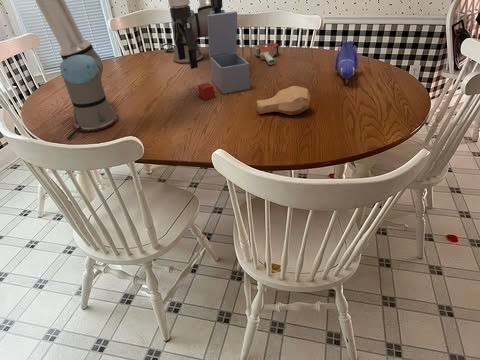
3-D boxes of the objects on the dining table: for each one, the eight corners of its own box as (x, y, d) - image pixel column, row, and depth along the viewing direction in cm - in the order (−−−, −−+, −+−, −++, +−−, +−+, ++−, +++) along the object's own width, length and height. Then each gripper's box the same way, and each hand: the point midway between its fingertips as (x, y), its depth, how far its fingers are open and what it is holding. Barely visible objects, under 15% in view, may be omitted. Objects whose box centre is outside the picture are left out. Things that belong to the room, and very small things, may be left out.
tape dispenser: (271, 69, 174) (289, 54, 187) (272, 58, 171) (290, 44, 183) (241, 62, 182) (260, 49, 194) (241, 52, 178) (260, 39, 191)
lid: (237, 12, 145) (230, 3, 150) (208, 16, 142) (202, 6, 147) (236, 51, 158) (230, 42, 163) (209, 56, 155) (204, 46, 160)
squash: (314, 116, 128) (313, 95, 122) (259, 125, 130) (256, 105, 124) (308, 99, 136) (307, 78, 129) (257, 108, 138) (253, 88, 131)
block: (214, 96, 147) (213, 85, 144) (204, 100, 145) (203, 88, 142) (209, 93, 150) (207, 82, 148) (199, 96, 148) (197, 85, 146)
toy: (333, 77, 168) (334, 87, 145) (335, 39, 161) (336, 43, 139) (355, 77, 166) (359, 86, 143) (358, 38, 159) (363, 42, 137)
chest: (250, 88, 152) (249, 63, 146) (222, 94, 149) (220, 68, 143) (237, 76, 165) (236, 52, 159) (212, 80, 162) (209, 56, 156)
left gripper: (201, 9, 123) (208, 70, 136) (178, 0, 141) (186, 54, 154) (181, 13, 121) (190, 74, 133) (160, 2, 139) (169, 57, 151)
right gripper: (227, -39, 134) (231, 27, 148) (216, -42, 146) (221, 20, 160) (208, -37, 133) (214, 29, 147) (198, -40, 144) (205, 22, 158)
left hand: (188, 63), depth 144 cm, fingers open, 13 cm apart
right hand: (218, 24), depth 153 cm, fingers closed on lid, 2 cm apart
